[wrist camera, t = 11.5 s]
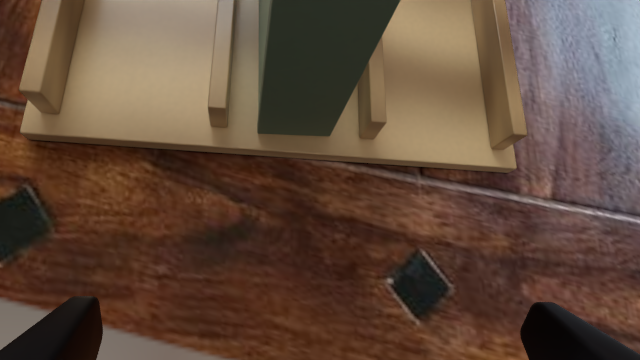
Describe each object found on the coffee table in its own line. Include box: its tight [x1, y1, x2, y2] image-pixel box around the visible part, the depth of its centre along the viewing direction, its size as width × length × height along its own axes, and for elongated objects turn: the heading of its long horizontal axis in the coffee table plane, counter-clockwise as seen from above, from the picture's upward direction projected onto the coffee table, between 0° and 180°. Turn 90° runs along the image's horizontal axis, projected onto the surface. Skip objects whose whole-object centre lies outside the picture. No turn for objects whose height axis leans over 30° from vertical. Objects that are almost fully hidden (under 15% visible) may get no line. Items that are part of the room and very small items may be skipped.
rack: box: [19, 0, 527, 173], centre depth 21 cm, size 12×24×3 cm, turn 90°
